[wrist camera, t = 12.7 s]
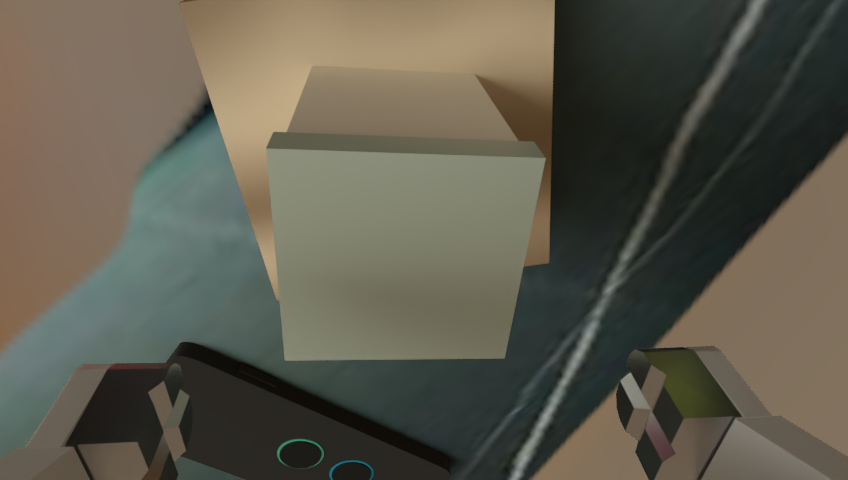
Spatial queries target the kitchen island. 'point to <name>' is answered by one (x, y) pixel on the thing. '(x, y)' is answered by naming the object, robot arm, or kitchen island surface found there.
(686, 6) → the kitchen island surface
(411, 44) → the oak block
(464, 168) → the cream tea tin
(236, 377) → the smart home device
